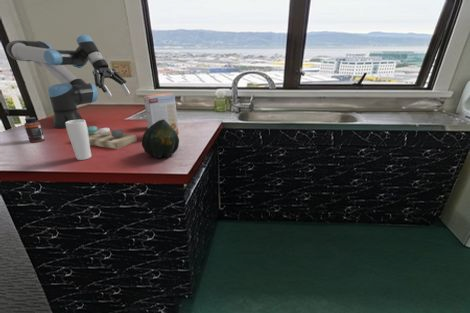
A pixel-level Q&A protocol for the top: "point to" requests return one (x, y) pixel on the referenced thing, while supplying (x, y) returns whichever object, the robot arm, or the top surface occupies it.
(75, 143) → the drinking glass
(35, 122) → the supplement bottle
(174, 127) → the cracker box
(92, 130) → the teal button
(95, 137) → the button panel
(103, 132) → the white button
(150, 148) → the squash
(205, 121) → the top surface
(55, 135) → the top surface
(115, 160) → the top surface
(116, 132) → the grey button
